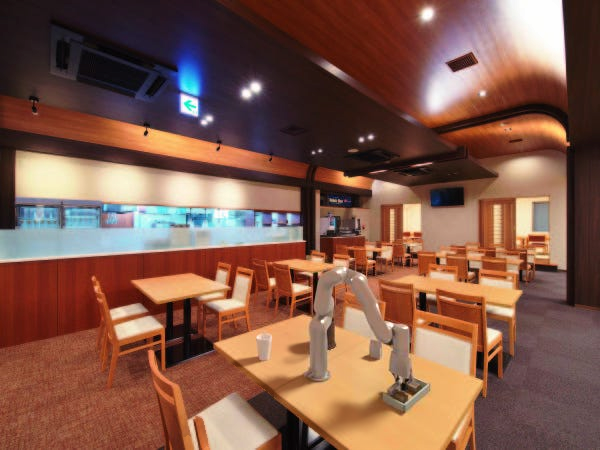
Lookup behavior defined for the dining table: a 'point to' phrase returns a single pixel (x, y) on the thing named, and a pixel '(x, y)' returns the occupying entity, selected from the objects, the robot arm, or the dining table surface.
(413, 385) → the small brown block
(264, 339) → the foam cup
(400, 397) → the crust left
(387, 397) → the grey u-shaped bracket
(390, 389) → the long grey plank
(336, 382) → the dining table surface
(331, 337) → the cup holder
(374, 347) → the pale brown block
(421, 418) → the dining table surface
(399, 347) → the robot arm
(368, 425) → the dining table surface
